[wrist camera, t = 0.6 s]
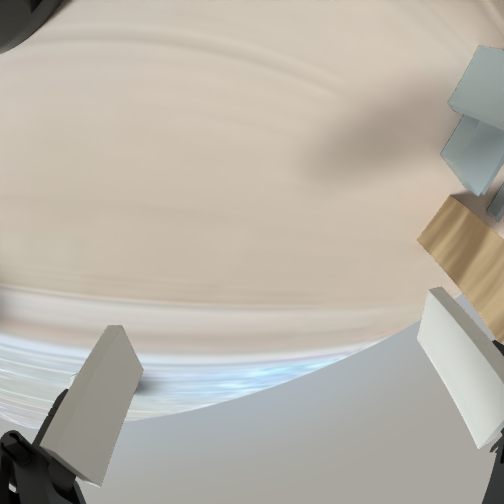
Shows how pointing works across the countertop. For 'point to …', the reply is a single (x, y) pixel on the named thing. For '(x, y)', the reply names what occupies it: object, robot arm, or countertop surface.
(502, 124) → the cabinet
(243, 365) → the countertop surface
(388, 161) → the countertop surface
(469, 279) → the door panel
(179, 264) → the countertop surface
